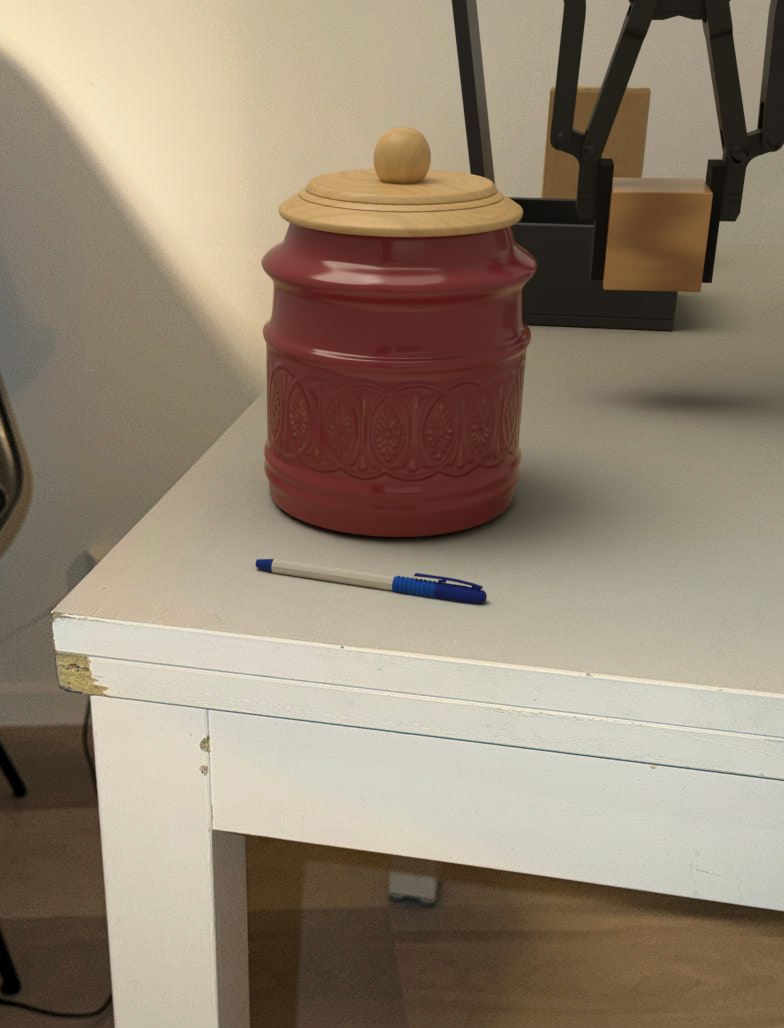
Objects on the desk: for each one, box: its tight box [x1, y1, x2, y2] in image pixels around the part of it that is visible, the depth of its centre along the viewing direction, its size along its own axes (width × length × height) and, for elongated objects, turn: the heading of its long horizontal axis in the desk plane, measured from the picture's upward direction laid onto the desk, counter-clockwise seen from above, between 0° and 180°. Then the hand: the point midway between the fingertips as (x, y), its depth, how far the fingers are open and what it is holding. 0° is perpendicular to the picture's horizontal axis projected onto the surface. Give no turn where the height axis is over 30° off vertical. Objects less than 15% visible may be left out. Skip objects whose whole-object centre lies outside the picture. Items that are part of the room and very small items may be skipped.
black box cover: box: [451, 0, 496, 186], centre depth 98 cm, size 15×13×1 cm
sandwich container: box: [540, 85, 652, 199], centre depth 121 cm, size 9×15×15 cm, turn 170°
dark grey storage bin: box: [507, 196, 679, 332], centre depth 102 cm, size 15×13×7 cm
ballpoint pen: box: [255, 558, 488, 605], centre depth 57 cm, size 10×1×1 cm, turn 72°
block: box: [603, 177, 713, 293], centre depth 77 cm, size 6×6×6 cm
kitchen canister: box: [260, 126, 537, 538], centre depth 63 cm, size 13×13×18 cm
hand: (649, 275), depth 78 cm, fingers closed on block, 5 cm apart
